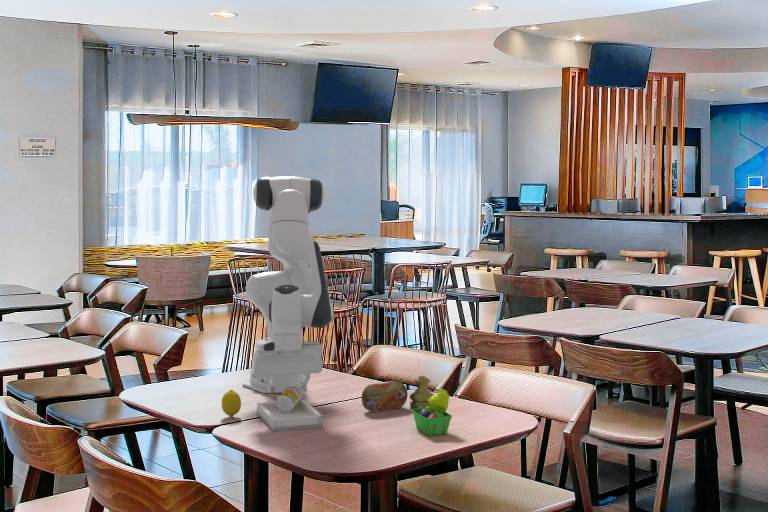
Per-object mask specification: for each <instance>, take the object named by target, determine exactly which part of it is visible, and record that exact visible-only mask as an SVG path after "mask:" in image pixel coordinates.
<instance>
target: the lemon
mask: <svg viewBox="0 0 768 512" xmlns="http://www.w3.org/2000/svg"><path fill="white" fill-rule="evenodd" d="M241 406H242V400H241V396H240V395H239V393H238V392H236V391H234V390H233V389H230V390H229V391H227V392H225V393H224V394H223V396H222V398H221V409H222V412H223V413H224V414H225V415H227V416H229V417H230V418H233V417H234V416H235V415H236V414H238V413H239V412H240V410H241Z"/></svg>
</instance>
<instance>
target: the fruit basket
mask: <svg viewBox="0 0 768 512" xmlns="http://www.w3.org/2000/svg"><path fill="white" fill-rule="evenodd" d="M449 400H450V394H449V393H448V390H446V389H444V388H440V389H438V390H437V392H436V393H435V394H434V395H433V396H432V397H430V398H429V405H430V407H424V408H423V409H413V410H411V413H412V414H413V418H414V422H415V426H416V429H418V430H420V431H422V432H423V433H424V434H427V435H428V436H430V437H431V436H439V435H447V434H448V430H449V426H450V423H451V420H452V418H453V415H452V414H450V413H448V412H447V410H448V408H449Z"/></svg>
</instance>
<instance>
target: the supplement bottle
mask: <svg viewBox="0 0 768 512" xmlns="http://www.w3.org/2000/svg"><path fill="white" fill-rule="evenodd" d="M300 386H301V385H300V384H295V385H293V386H289V387H288V388H287V389H286V390H285V391H284V392H283V393H281V394H280V395H278V397H277V398H276V400H275V401H276V406H277V408H278V409H279V410H280V411H282V412H285V413H287V412H290V411H291V410H292V409H293V408H294V407H295V406H296V405H297V404H298V403H299V402H300V401H301V399H303V395H304V394H305V393H306V392H305V390H306V389H303V390H301V388H300Z"/></svg>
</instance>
